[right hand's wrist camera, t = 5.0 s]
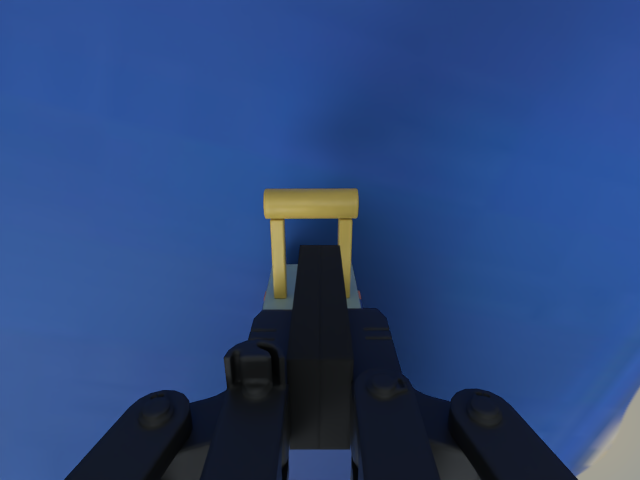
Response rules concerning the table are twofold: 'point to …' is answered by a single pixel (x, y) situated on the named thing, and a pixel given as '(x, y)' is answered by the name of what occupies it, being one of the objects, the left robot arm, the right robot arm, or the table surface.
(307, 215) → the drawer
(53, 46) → the table surface
